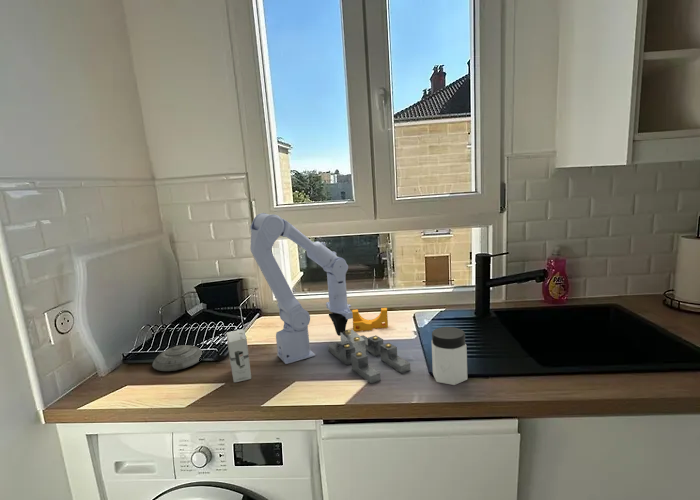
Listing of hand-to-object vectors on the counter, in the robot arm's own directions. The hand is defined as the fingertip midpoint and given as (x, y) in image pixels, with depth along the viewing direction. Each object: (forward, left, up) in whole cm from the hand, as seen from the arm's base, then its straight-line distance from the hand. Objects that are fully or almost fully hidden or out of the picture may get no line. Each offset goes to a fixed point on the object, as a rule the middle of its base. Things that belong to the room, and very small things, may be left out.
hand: (340, 334), depth 134 cm
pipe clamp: (+14, +5, -3) cm, 15 cm away
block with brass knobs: (0, -8, -3) cm, 9 cm away
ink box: (-33, -2, -3) cm, 33 cm away
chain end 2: (0, -23, -3) cm, 24 cm away
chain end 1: (0, -9, -3) cm, 10 cm away
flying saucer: (-47, +18, -3) cm, 50 cm away
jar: (+12, -37, -3) cm, 39 cm away
